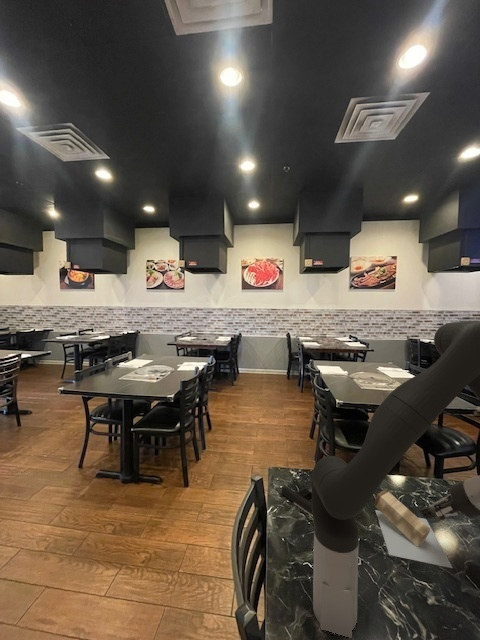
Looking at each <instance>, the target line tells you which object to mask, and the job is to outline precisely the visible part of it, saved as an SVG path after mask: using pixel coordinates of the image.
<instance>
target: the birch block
mask: <svg viewBox="0 0 480 640" xmlns="http://www.w3.org/2000/svg"><path fill="white" fill-rule="evenodd" d="M373 506H374V507H375V508H376V509H377V510H378V511H381V512H382V513H383V514H384V515H385V516H386V517H387V518H388V519H389V520H390V521H391V522H392V523H393V524H394V525H395V526H396V527H397V528H398V529H399V530H400V531H401V532H402V533H403V534H404V535H405V536H406V537H407V538H408V539H409V540H410V541H411V542H412V543H413V544H415V545H416V546H417V547H418V546H419V545H420V544H422V543H423V542H424V541H425V540H426V538H427V536H428V534H429V532H430V530H431V529H432V528H431V529H430V528H429V527H428V526H427V525H426V524H424V523H423V522H422V521H421V520H420V519H419V518H420V517H417V515H416V514H414V513H413V512H412V511H411V510H410V509H409V508H408V507H406V506H405V505H404V504H403V503H402V502H401V501H399V499H397V498H396V497H395V496H394V495H393V494H392V493H391V492H390V491H389V490H387V488H386V489H383V490H382V491H380V492H378V493H377V494H376V496H375V500H374V502H373Z"/></svg>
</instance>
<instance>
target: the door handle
mask: <svg viewBox="0 0 480 640" xmlns="http://www.w3.org/2000/svg"><path fill="white" fill-rule="evenodd" d="M281 494H282V495H283V496H284V497H285V498H287V499H289V500H290V501H291V502H292V503H293V504H294V505H295V506H297V507H298V508H299V509H301V510H302V511H304V512H305V513H307V514H308V515H310V516H311V517H312V518H313V514H312V501H310V500H312V487H311V488H309V489H307V488H303V489H301V490H300V491H297V492H296V491H294V490H293V489H292V488H290V487H288V486H283V487H282V489H281Z"/></svg>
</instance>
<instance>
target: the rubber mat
mask: <svg viewBox="0 0 480 640" xmlns="http://www.w3.org/2000/svg"><path fill="white" fill-rule="evenodd" d="M375 513H376V516H377V519H378V523H379V527H380V530H381V533H382V537H383V539H384V540H383V541H384V542H385V545H386V549H387V552H388V555H389V556H392V557H396V558H397V557H398V558H403V559H406V560H407V559H408V560H412V561H415V562H421V563H425V564H430V565H435V566H440V567H444V568H450V569H454V567H453V565H452V564H451V562H450V560H449V558H448V557H447V554H446V552H445V551H444V549H443V547H442V546H441V544H440V542H439V540H438V538H437V536H436V534H435V533H434V531H433V529H432V527H431V525H430V524H429V522H428V519H425V518H424V517H422V518H421V517H418V518H419V519H420V520H421V521H422V522H423V523H424V524H426V525H427V526H428V527H429V528H430V529H431V530H430V532H429V534H428V536H427V538H426V540H425V541H424V542H423V543H422V544H420V545H419V546H418V547H417V546H416V545H415V544H413V543H412V542H411V541H410V540H409V539H408V538H407V537H406V536H405V535H404V534H403V533H402V532H401V531H400V530H399V529H398V528H397V527H396V526H395V525H394V524H393V523H392V522H391V521H390V520H389V519H388V518H387V517H386V516H385V515H384V514H383V513H382V512H381V511H380V510H378V509H377V510H376V509H375Z"/></svg>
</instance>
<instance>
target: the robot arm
mask: <svg viewBox="0 0 480 640" xmlns="http://www.w3.org/2000/svg"><path fill="white" fill-rule="evenodd" d="M433 343H434V344H433V345H434V347H435V349H436V351H437V353H439V355H440V357H439V358H438V359H437V360H436V361H435V362H434V363H433V364H431V366H429V367H428V368H426V369H425V370H423V371H422V372H420V373H418V374H416V375H414V376H413V377H411V378H409V379H408V380H406V381H404V382H403V383H401V384H400V385H398V386H397V387H395V388H394V389H393V390H392V391H391V392H390V393H389V394H388V395H387V396H386V398H385V399H383V401H382V402H381V403H380V404H379V406H377V408H376V409H375V410H374V412H373V414H372V416H371V419H370V422H369V426H368V429H367V432H366V435H365V439H364V442H363V444H362V445H361V447H360V448H359V451H357V453H356V454H355V455H354V457H353V458H352V459H351V460H350V461H349V462H348V463H347V461H345V460H344V459H342V458H341V457H339V456H336V455H327V456H324V457H322V458H320V459H319V460H318V461H317V462H316V464H315V465H314V467H313V470H312V474H311V488H312V499H311V503H312V514H313V517H312V519H313V525H314V526H313V575H312V576H313V579H312V584H313V585H312V590H313V591H312V592H313V593H312V594H313V595H312V609H313V613H314V616H315V618H316V620H317V621H318V624H319V626H320V627H319V629H320V628H321V629H320V630H321V631H322V630H326V631H329V632H332V633H331V634H333V633H334V634H333V635H336V634H338V635H337V636H340V635H342V636H341V637H343V636H345V637H344V638H346V637H352V638H353V632H352V630H353V629H354V627H355V625H356V623H358V589H359V588H358V587H359V586H358V582H359V580H358V578H359V576H358V575H359V570H358V569H359V527H358V524H357V521H356V517H355V516H357V515H358V514H360V513H361V511H363V509H364V508H365V507H366V506H367V505H368V503H369V502H370V500H371V499H372V497H373V496H374V495H375V494H376V491H377V490H378V489H379V487H380V486H381V484H382V483H383V481H384V480H385V478H387V476H388V474H389V473H390V472H391V471H392V469H394V468H395V466H396V465H397V464H398V462H399V461H400V460H401V459H402V457H403V456H404V455H405V454H406V453H407V452H408V451H409V449H410V448H411V447H412V446H414V444H415V443H416V442H418V440H419V439H421V437H422V436H423V435H424V434H425V433H426V432H427V430H428V429H429V428H430V427H431V426H432V425H433V423H434V422H435V421H436V420H437V419H438V417H439V416H440V415H441V414H442V413H443V412H444V410H445V409H446V408H447V407H448V406H449V405H450V404H451V403H452V402H453V400H455V399H456V397H457V396H458V395H460V393H461V392H462V391H463V390H464V389H465V388H466V387H468V388H469V390H471V391H472V393H473V394H474V395H475V397H476V398H477V399H478V401H480V320H465V321H456V322H448V323H445V324H443V325H441V326H440V327H439V328H437V330H436V331H435V333H434V337H433ZM419 512H420V514H421V516H422V518H423V519H426V520H428V519H431V518H432V519H434V520H438V521H439V520H441V521H444V520H445V519H446V518H448V517H452V516H453V517H456V516H458V515H460V514H461V513H462V514H463V515H465V516H466V517H468V518H470V519H479V518H480V475H476V476H475V475H474V476H472V477H470V478H467V479H464V480H461V481H459V482H456V483H455V484H452V485H451V486H450V487H449V494H447V495H446V496H445V497H442V498H440V499H438V500H437V501H435V502H433V503H432V504H431V505H430V506H427V507H423V508H421V510H419ZM356 626H357V625H356ZM355 628H356V627H355ZM354 630H355V629H354ZM326 631H325V632H326ZM329 632H328V633H329ZM335 633H336V634H335Z"/></svg>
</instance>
